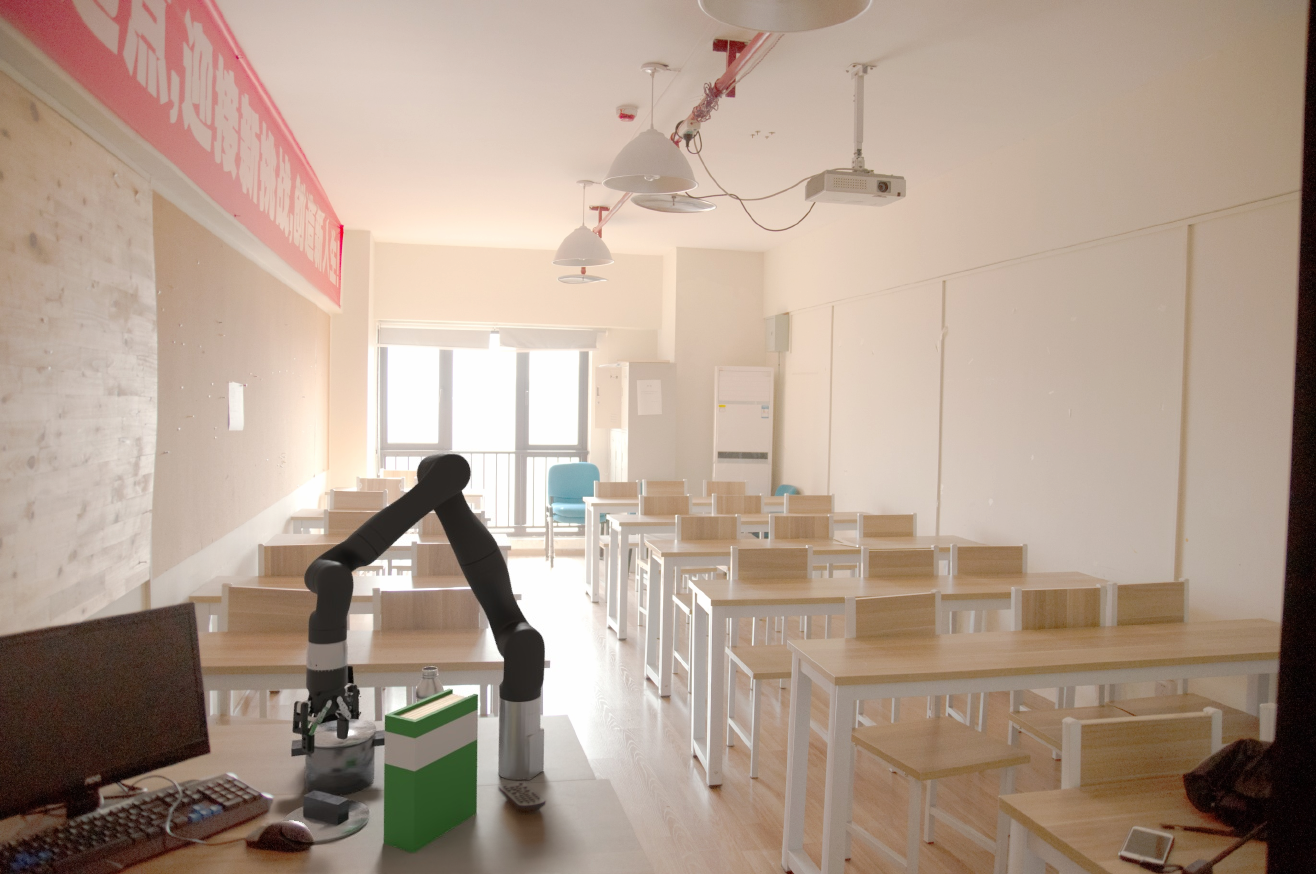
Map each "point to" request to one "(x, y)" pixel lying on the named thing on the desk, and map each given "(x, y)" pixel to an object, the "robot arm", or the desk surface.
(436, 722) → the hardback book
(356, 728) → the pot
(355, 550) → the robot arm
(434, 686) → the plastic bottle
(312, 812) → the lid
